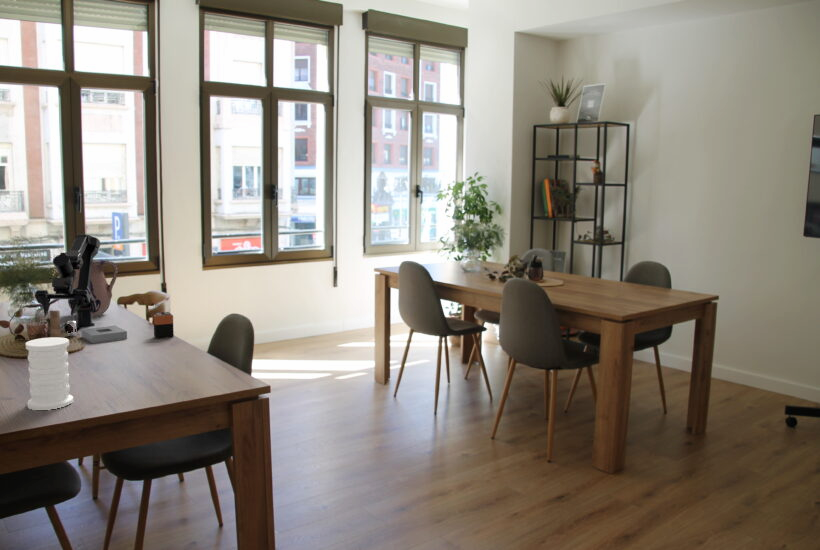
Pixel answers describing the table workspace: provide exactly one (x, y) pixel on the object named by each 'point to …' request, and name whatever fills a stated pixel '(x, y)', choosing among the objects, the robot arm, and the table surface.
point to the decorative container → (48, 373)
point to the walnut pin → (55, 323)
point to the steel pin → (73, 324)
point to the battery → (163, 325)
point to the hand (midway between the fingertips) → (58, 315)
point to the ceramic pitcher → (99, 286)
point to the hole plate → (104, 334)
